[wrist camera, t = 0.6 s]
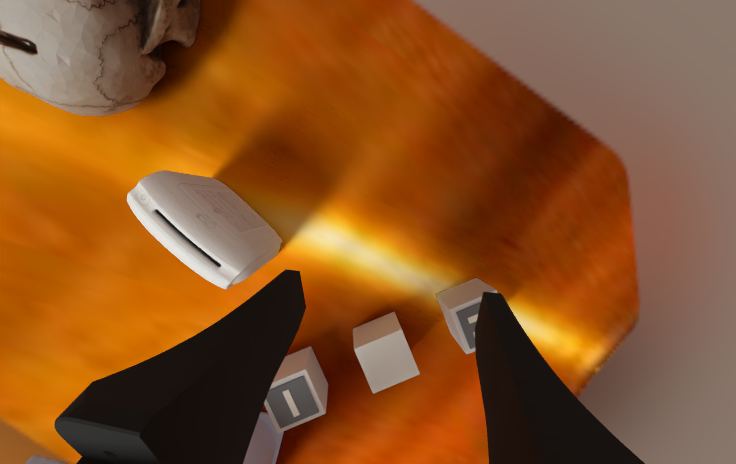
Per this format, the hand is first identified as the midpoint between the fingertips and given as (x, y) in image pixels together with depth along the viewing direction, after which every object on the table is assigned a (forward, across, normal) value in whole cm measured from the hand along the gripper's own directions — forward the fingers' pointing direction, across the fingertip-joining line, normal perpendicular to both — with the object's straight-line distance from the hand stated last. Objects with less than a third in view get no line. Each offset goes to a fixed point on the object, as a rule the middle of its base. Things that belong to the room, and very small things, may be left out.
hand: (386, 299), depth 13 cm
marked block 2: (+19, -6, +18) cm, 27 cm away
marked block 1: (+11, +11, +24) cm, 28 cm away
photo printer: (+17, +18, +8) cm, 26 cm away
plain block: (+15, +2, +21) cm, 25 cm away
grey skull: (+23, +28, -10) cm, 38 cm away
